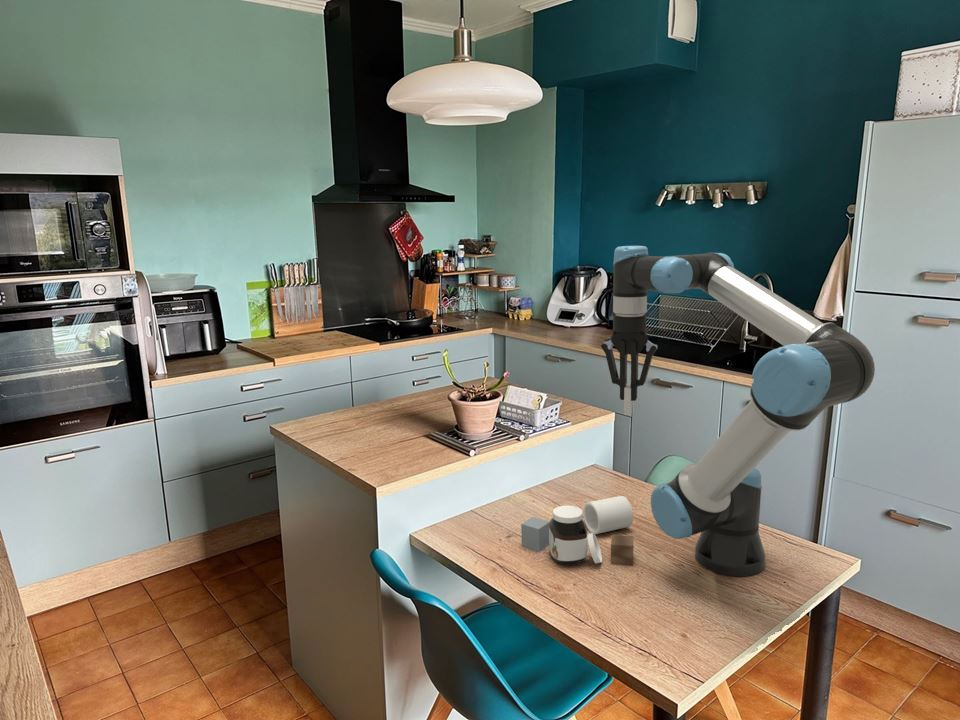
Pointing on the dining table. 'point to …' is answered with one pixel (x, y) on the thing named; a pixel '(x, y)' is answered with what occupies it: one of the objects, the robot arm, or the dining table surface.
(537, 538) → the slate block
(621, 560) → the walnut block
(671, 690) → the dining table surface
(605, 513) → the mug
